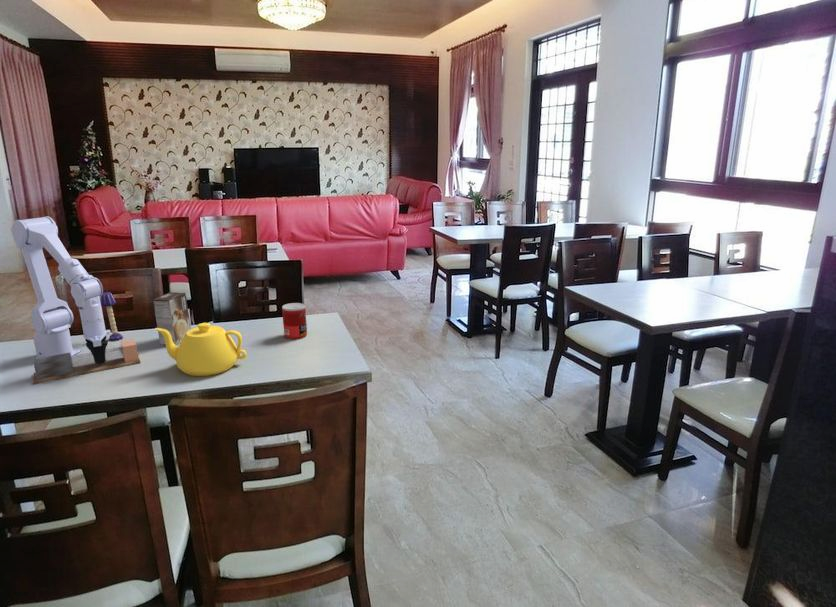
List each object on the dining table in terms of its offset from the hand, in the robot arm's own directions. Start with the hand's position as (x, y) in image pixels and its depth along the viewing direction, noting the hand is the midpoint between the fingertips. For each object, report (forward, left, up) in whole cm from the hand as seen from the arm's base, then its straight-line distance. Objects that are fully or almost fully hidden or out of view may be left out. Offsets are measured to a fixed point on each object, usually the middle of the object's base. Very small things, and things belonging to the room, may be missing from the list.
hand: (100, 361), depth 165 cm
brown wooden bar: (-3, -2, -2) cm, 4 cm away
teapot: (+32, +2, -2) cm, 32 cm away
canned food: (+52, +30, -2) cm, 60 cm away
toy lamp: (-10, +23, -2) cm, 25 cm away
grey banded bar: (-2, -2, 0) cm, 3 cm away
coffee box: (+12, +23, -2) cm, 26 cm away
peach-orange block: (+7, +5, -1) cm, 8 cm away
